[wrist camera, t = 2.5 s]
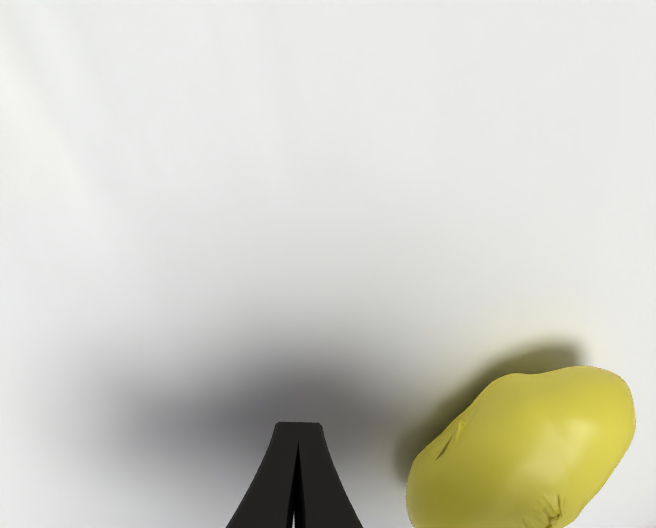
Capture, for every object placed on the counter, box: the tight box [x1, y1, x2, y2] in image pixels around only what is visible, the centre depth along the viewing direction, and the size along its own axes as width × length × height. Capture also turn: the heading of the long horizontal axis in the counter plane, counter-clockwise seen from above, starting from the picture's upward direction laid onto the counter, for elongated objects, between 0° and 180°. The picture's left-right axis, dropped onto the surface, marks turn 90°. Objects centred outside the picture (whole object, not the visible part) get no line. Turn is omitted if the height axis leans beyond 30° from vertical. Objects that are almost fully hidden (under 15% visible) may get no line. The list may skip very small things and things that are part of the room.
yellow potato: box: [406, 366, 636, 528], centre depth 11 cm, size 4×8×4 cm, turn 132°
